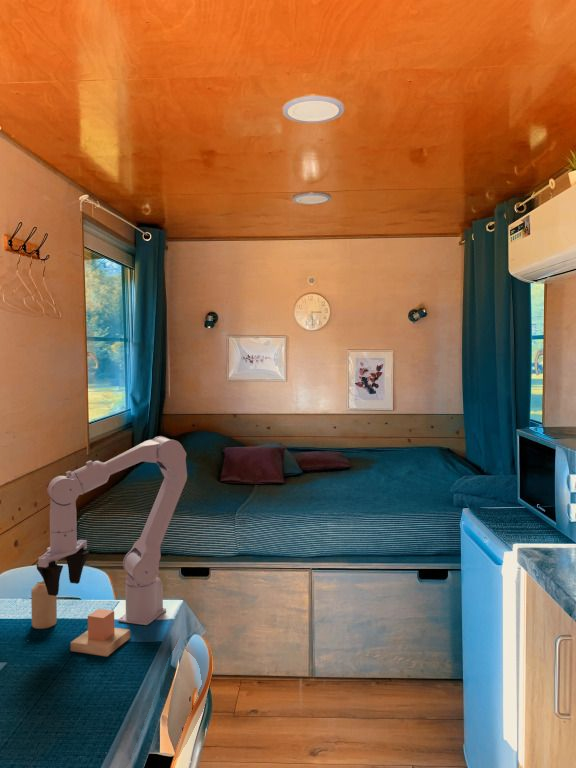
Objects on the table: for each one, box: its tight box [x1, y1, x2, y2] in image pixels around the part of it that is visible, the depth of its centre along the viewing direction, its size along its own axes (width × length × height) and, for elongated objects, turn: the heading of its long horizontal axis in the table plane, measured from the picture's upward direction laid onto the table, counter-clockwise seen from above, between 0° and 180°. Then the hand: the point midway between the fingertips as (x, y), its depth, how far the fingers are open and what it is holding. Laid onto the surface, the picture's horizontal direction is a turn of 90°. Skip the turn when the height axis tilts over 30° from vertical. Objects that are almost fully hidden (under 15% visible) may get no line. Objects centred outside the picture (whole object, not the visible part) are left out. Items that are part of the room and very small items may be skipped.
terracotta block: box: [87, 608, 115, 641], centre depth 132 cm, size 4×4×5 cm
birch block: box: [70, 627, 131, 657], centre depth 132 cm, size 9×9×2 cm
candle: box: [30, 580, 58, 630], centre depth 143 cm, size 6×6×10 cm
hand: (64, 588), depth 137 cm, fingers open, 7 cm apart
